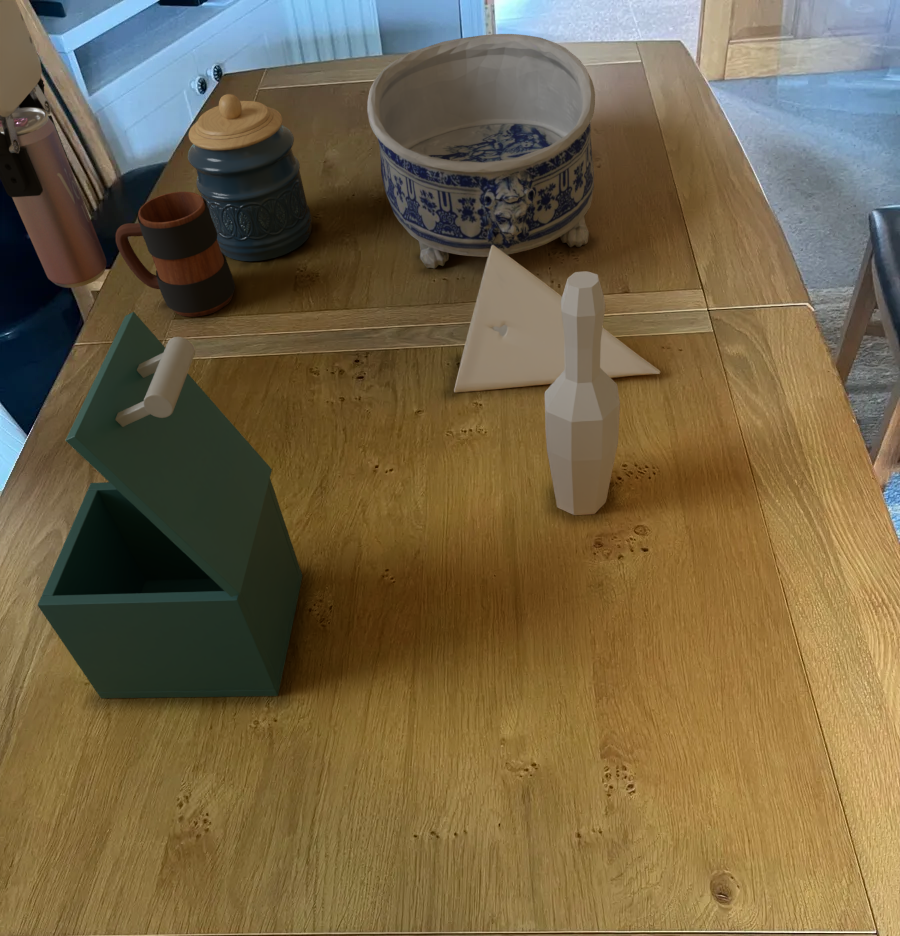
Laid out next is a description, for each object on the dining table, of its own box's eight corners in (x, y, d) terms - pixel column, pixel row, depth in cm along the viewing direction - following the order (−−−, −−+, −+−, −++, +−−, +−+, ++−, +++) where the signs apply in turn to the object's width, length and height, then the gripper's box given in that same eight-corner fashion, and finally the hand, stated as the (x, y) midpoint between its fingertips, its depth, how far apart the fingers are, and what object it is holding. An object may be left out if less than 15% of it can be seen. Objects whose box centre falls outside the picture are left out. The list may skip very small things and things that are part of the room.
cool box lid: (64, 440, 55) (128, 411, 53) (124, 315, 63) (182, 286, 61) (231, 597, 65) (289, 577, 63) (264, 472, 73) (316, 451, 71)
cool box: (100, 698, 76) (36, 605, 67) (142, 580, 84) (90, 482, 75) (278, 696, 74) (237, 600, 65) (302, 575, 82) (269, 475, 73)
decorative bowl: (634, 277, 108) (642, 145, 96) (407, 318, 107) (387, 189, 95) (550, 125, 135) (548, 8, 124) (369, 156, 134) (350, 42, 123)
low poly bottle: (606, 528, 82) (615, 308, 66) (537, 515, 84) (528, 298, 68) (623, 480, 86) (636, 261, 69) (556, 469, 88) (553, 252, 71)
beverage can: (59, 260, 97) (-5, 108, 85) (115, 257, 96) (58, 103, 85) (41, 291, 93) (-29, 136, 82) (99, 288, 92) (37, 132, 81)
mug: (148, 285, 117) (113, 194, 108) (242, 277, 116) (214, 185, 107) (133, 324, 112) (95, 232, 103) (231, 316, 111) (201, 222, 102)
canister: (288, 268, 117) (251, 122, 103) (198, 259, 120) (151, 117, 107) (329, 215, 124) (300, 73, 111) (243, 209, 128) (205, 70, 114)
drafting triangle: (679, 287, 96) (493, 235, 94) (688, 300, 90) (491, 245, 89) (629, 423, 103) (456, 376, 102) (635, 442, 98) (453, 393, 97)
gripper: (-56, -77, 80) (32, 139, 93) (-152, -10, 68) (-35, 225, 82) (28, -85, 79) (104, 135, 92) (-55, -18, 68) (46, 221, 81)
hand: (38, 175), depth 87 cm, fingers closed on beverage can, 6 cm apart
